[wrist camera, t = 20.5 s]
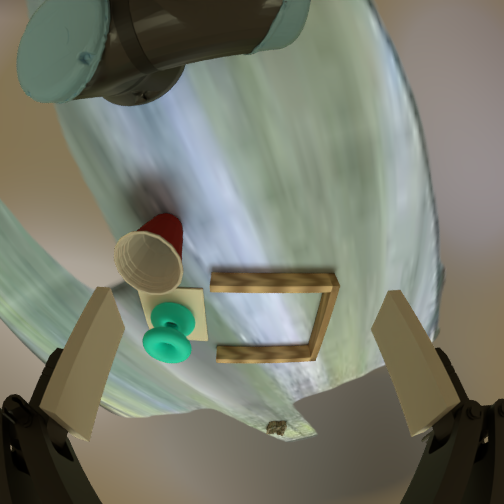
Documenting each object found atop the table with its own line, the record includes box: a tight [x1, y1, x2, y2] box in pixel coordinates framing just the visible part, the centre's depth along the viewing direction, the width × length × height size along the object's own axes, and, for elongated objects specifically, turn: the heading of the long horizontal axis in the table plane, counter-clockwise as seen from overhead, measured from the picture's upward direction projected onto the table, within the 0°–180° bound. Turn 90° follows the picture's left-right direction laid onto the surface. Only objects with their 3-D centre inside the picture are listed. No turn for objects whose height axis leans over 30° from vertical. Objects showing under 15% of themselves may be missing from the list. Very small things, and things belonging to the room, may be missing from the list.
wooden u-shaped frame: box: [210, 272, 340, 363], centre depth 56 cm, size 24×24×4 cm
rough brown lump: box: [266, 421, 287, 436], centre depth 92 cm, size 11×8×4 cm
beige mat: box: [138, 288, 208, 341], centre depth 57 cm, size 14×16×1 cm
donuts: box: [143, 302, 195, 363], centre depth 52 cm, size 10×10×10 cm
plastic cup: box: [114, 213, 183, 295], centre depth 41 cm, size 11×11×12 cm
